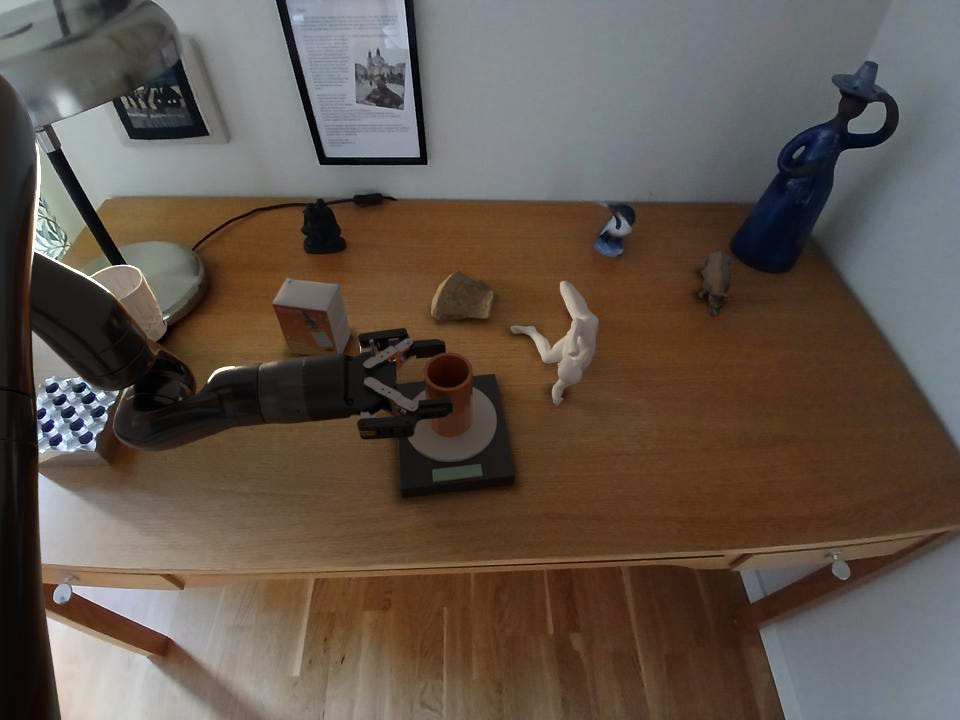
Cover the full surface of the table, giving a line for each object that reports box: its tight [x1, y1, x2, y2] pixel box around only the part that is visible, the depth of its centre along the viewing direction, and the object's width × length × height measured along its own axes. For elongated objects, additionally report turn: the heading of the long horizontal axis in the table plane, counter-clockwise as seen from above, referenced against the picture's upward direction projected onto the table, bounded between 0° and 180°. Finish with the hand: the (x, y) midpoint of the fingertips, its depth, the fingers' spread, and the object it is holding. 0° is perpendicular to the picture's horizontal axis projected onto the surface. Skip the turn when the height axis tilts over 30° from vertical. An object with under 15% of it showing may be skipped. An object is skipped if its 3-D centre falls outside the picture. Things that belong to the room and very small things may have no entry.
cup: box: [422, 351, 474, 437], centre depth 69 cm, size 6×6×10 cm
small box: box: [271, 277, 352, 356], centre depth 80 cm, size 8×6×10 cm
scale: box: [396, 373, 516, 499], centre depth 73 cm, size 16×14×3 cm
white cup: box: [89, 264, 168, 343], centre depth 82 cm, size 8×8×10 cm
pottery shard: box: [430, 270, 498, 322], centre depth 89 cm, size 11×4×10 cm
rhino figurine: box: [698, 250, 731, 318], centre depth 90 cm, size 4×14×6 cm, turn 165°
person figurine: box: [509, 280, 600, 406], centre depth 80 cm, size 13×13×18 cm
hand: (448, 375), depth 65 cm, fingers open, 8 cm apart
